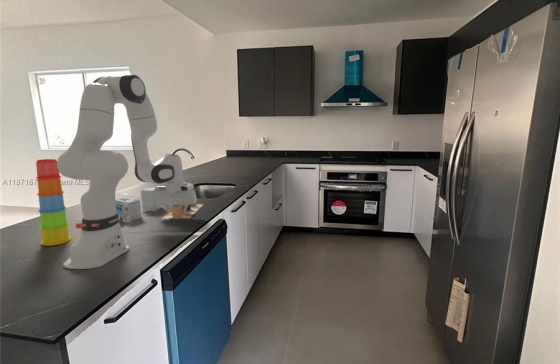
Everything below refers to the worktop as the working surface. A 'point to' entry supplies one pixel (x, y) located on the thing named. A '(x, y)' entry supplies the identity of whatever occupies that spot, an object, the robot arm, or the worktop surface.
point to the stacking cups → (51, 204)
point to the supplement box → (149, 200)
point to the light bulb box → (128, 209)
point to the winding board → (189, 212)
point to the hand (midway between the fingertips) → (177, 212)
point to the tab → (176, 211)
